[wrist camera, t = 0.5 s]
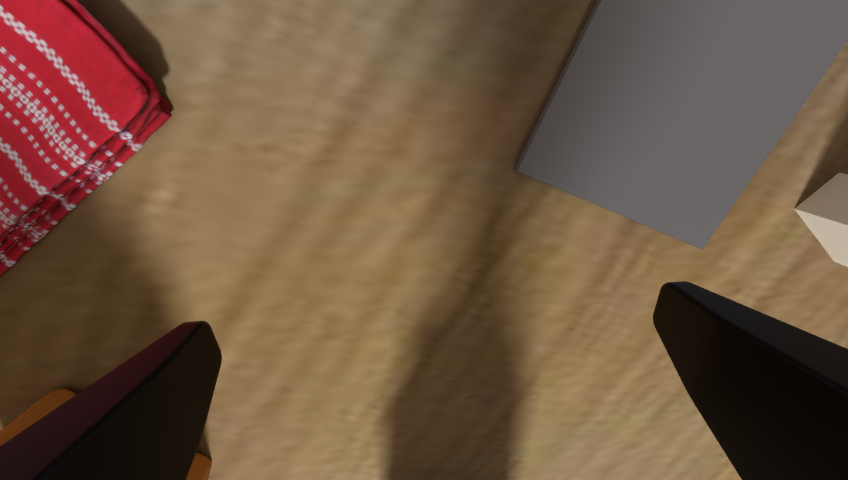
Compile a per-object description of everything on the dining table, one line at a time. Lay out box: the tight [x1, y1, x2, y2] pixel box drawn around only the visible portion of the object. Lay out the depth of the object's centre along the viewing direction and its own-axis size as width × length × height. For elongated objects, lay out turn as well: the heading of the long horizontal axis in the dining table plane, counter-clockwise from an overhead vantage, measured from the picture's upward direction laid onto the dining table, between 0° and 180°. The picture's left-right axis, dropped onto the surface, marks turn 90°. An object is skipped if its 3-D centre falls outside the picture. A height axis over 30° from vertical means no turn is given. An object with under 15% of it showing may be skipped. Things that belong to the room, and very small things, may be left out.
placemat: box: [514, 0, 848, 250], centre depth 19 cm, size 20×12×1 cm, turn 157°
